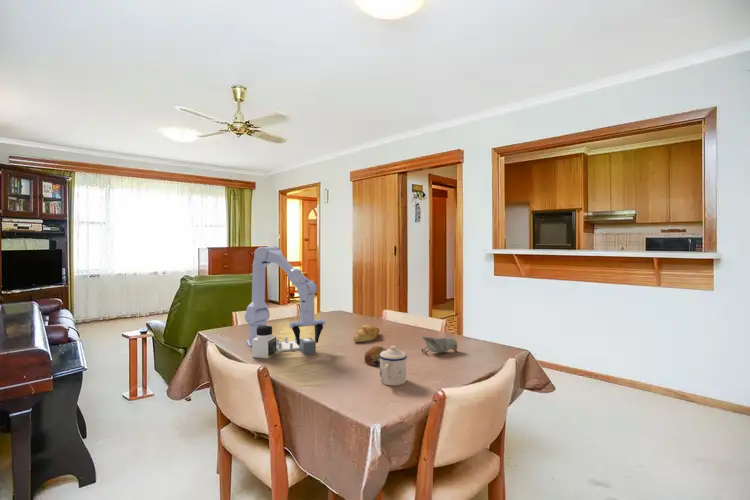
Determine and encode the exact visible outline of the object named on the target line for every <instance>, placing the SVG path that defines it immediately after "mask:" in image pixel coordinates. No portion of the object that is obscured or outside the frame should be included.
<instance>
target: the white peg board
mask: <svg viewBox="0 0 750 500" xmlns="http://www.w3.org/2000/svg"><path fill="white" fill-rule="evenodd" d="M288 340H289V339H288V337H284V341H281V342H280V339H276V352H278V353H282V352H291V351H299V345H298V344H297V341H296V337H294V340H289V341H288Z"/></svg>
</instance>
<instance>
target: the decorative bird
mask: <svg viewBox="0 0 750 500" xmlns="http://www.w3.org/2000/svg"><path fill="white" fill-rule="evenodd" d="M422 339H423V340H424V341H425V345H426V346H425V347H424V349H421V353H422V354H424V355H426V356H428V352H429V351H430V352H433V353H446V352H448V351H450V350H453V351H454V352H457V351H458V342H457V340H455V339H454V338H453V337H447V338H446V337H432V336H431V337H430V336H422ZM426 349H428V350H426Z"/></svg>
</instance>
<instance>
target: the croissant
mask: <svg viewBox="0 0 750 500" xmlns="http://www.w3.org/2000/svg"><path fill="white" fill-rule="evenodd" d="M379 333H380V327H376V326H375V325H373V324H371V323H367V324H366V323H365V324H363V325H361V326H359V327H358V328H357V330H356V331H355V334H354V336H353V339H352V340H353V342H354V343H363V342H370V341H373V340H375V339H377V338H378V335H379Z"/></svg>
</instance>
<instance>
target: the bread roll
mask: <svg viewBox="0 0 750 500" xmlns="http://www.w3.org/2000/svg"><path fill="white" fill-rule="evenodd" d="M386 350H388V349H387V348H386V347H384V346H382V345H371V347H369V349H368V350H366V351H365V353H364V362H365V364H367V365H369V366H376V367H380V357H379V355H380V353H381V352H383V351H386Z"/></svg>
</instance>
